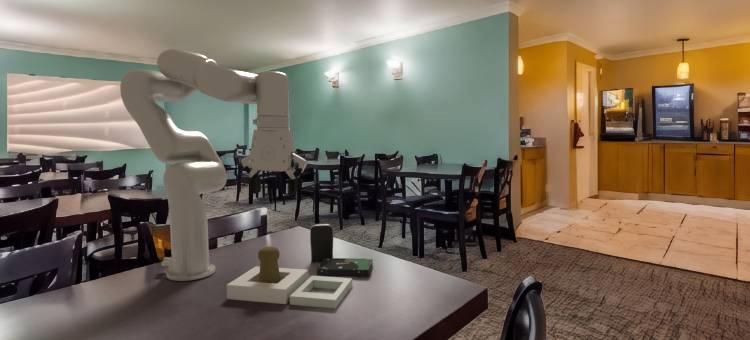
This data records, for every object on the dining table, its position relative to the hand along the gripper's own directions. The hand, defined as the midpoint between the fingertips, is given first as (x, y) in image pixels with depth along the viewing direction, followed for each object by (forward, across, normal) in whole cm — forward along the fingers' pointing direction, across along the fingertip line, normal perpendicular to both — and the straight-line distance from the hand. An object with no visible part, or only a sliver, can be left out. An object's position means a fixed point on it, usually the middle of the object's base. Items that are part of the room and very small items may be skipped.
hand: (274, 193), depth 101 cm
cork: (+25, -1, -1) cm, 25 cm away
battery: (+25, +3, +25) cm, 35 cm away
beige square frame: (+24, -1, -1) cm, 24 cm away
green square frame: (+24, +13, 0) cm, 27 cm away
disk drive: (+25, +13, +18) cm, 33 cm away
